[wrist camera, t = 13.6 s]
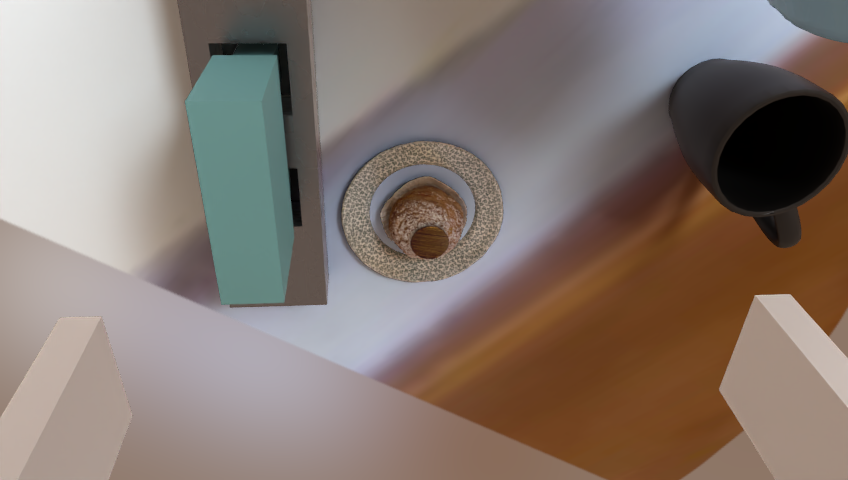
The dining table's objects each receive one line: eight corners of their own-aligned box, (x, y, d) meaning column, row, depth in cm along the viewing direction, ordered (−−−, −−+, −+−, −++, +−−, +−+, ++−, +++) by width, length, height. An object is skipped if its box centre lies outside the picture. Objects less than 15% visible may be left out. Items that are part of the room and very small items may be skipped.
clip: (227, 30, 40) (184, 101, 30) (285, 30, 41) (261, 101, 31) (250, 199, 47) (221, 304, 37) (299, 199, 47) (284, 302, 37)
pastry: (394, 296, 53) (397, 333, 49) (309, 186, 47) (305, 219, 43) (525, 230, 51) (539, 264, 47) (454, 105, 45) (463, 132, 41)
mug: (672, 207, 50) (731, 281, 42) (637, 69, 44) (699, 126, 36) (778, 166, 49) (859, 233, 41) (758, 17, 43) (850, 63, 35)
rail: (177, -98, 36) (161, -91, 33) (304, -96, 37) (300, -88, 34) (237, 278, 50) (229, 307, 47) (328, 276, 51) (326, 304, 48)
